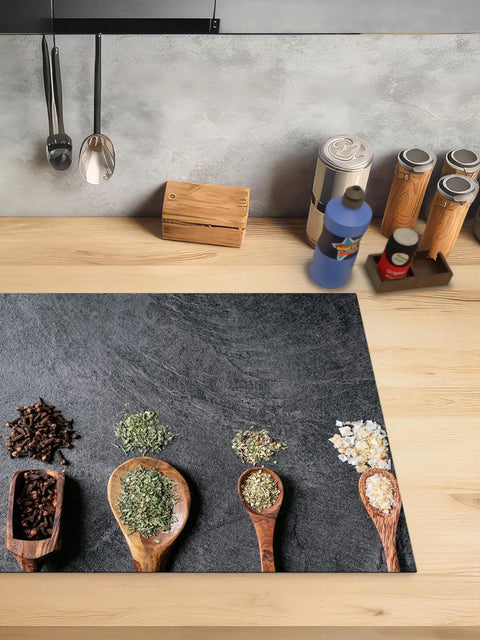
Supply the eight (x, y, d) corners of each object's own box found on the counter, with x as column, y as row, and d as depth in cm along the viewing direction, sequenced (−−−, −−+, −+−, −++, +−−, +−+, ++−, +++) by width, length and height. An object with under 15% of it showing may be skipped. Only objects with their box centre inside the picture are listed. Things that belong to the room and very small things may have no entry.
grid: (433, 257, 169) (438, 246, 166) (447, 285, 164) (453, 274, 161) (364, 265, 168) (368, 254, 165) (376, 293, 163) (381, 282, 160)
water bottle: (356, 285, 164) (388, 200, 144) (316, 292, 163) (343, 207, 143) (340, 255, 170) (369, 169, 149) (302, 262, 169) (325, 176, 148)
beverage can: (369, 272, 166) (384, 233, 156) (389, 260, 168) (405, 221, 158) (390, 289, 162) (406, 251, 153) (410, 277, 164) (427, 238, 155)
